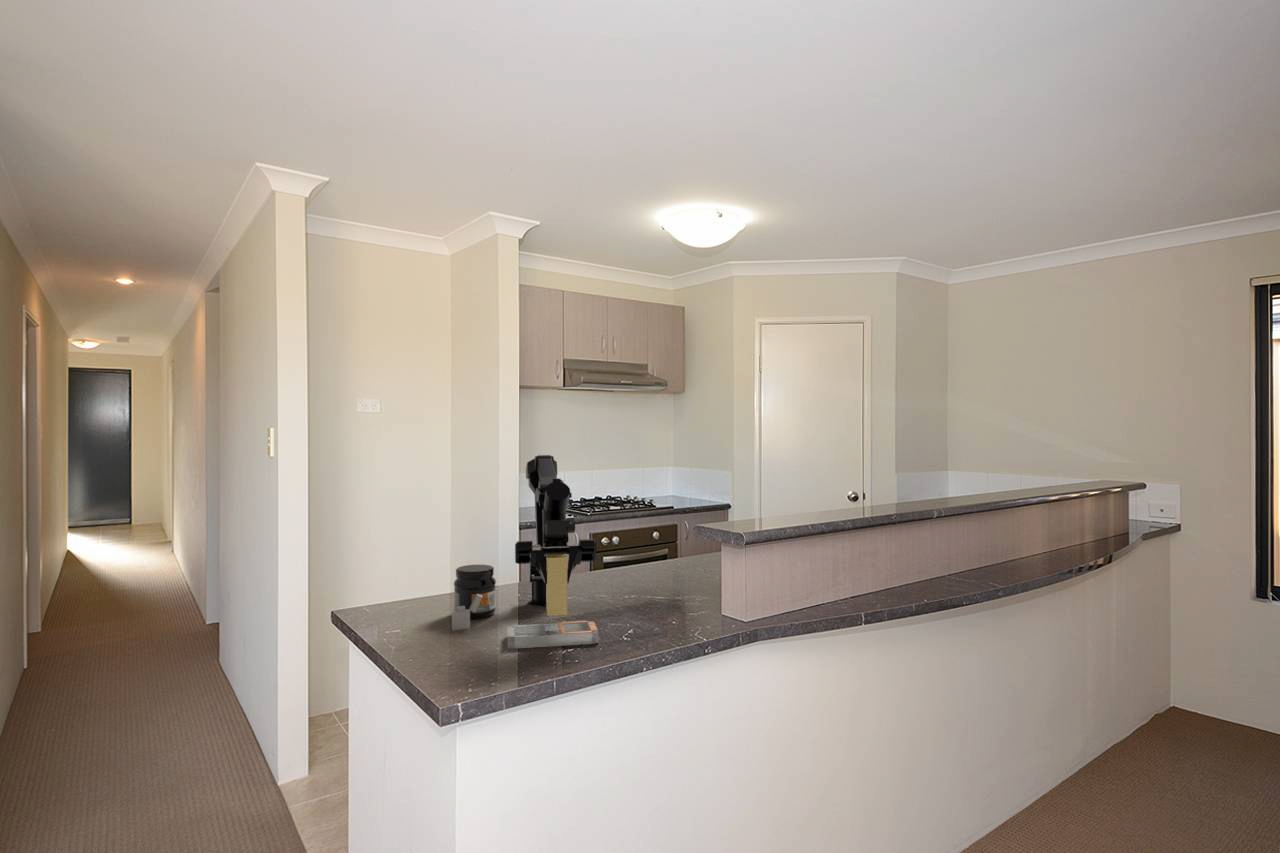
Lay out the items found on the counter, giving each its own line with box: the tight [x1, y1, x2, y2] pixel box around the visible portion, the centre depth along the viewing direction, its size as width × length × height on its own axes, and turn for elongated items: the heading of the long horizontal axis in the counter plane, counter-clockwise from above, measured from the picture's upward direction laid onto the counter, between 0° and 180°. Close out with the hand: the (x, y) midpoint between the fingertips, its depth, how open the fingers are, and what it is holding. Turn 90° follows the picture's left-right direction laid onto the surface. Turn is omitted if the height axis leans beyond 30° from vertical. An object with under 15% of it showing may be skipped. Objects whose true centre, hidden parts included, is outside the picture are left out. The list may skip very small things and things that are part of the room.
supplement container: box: [453, 563, 497, 620], centre depth 183 cm, size 10×10×12 cm
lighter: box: [451, 594, 483, 631], centre depth 171 cm, size 7×2×8 cm, turn 110°
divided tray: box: [506, 620, 599, 650], centre depth 162 cm, size 20×9×3 cm, turn 101°
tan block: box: [545, 553, 568, 616], centre depth 162 cm, size 4×4×13 cm
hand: (557, 582), depth 161 cm, fingers closed on tan block, 4 cm apart
